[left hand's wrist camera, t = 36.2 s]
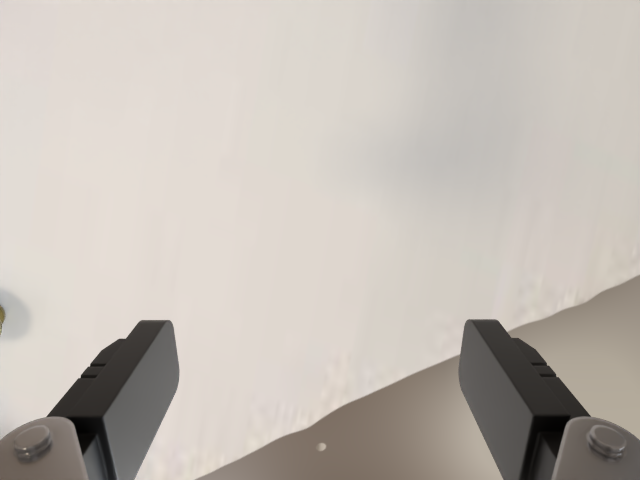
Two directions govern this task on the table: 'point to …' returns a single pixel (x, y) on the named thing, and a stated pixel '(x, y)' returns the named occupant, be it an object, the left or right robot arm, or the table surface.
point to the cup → (1, 318)
